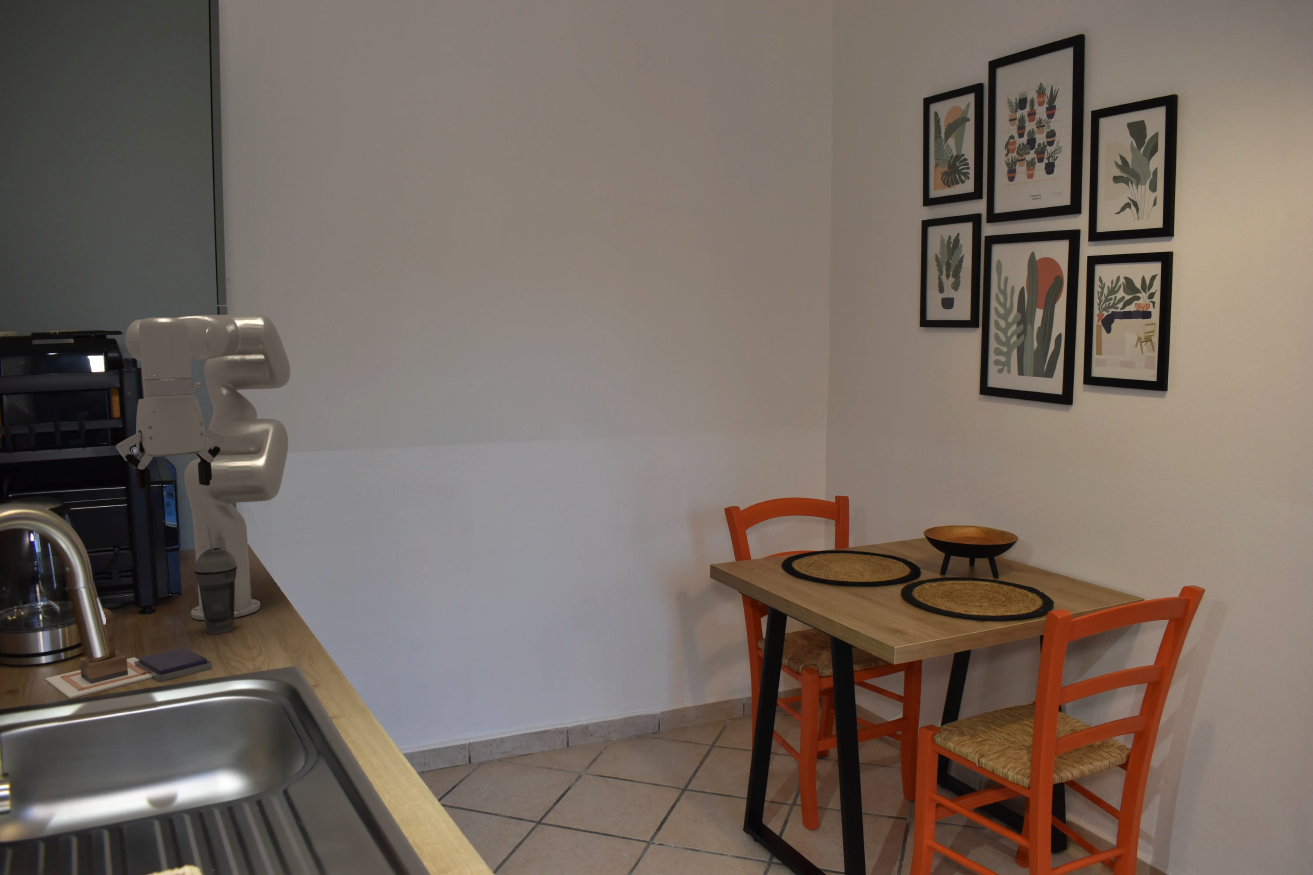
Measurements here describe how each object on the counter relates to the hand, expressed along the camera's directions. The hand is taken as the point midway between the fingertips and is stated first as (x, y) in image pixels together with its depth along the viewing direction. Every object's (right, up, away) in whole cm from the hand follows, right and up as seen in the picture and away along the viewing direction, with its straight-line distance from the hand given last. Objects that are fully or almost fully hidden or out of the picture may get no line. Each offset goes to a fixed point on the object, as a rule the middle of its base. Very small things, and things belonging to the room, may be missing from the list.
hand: (175, 488), depth 160 cm
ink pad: (+4, -29, -9) cm, 31 cm away
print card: (-5, -30, -13) cm, 33 cm away
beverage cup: (+2, -28, +12) cm, 30 cm away
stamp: (-5, -29, -13) cm, 32 cm away
